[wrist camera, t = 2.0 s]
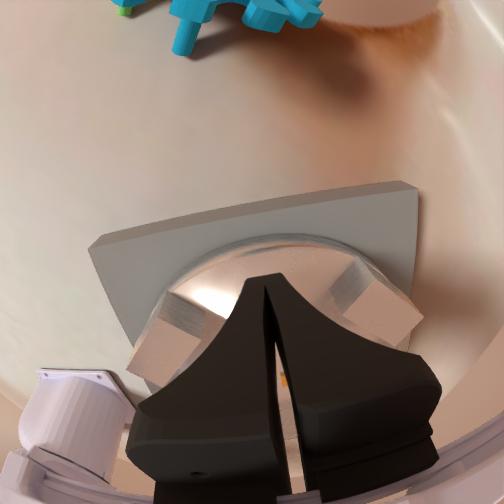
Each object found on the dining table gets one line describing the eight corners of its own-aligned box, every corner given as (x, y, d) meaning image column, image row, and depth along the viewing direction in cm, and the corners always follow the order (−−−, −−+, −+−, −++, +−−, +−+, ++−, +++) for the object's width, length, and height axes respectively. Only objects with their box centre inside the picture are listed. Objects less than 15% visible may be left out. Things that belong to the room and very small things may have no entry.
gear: (353, -3, 9) (271, 23, 5) (299, 67, 14) (202, 160, 10) (186, -72, 7) (32, -42, 3) (162, -4, 13) (34, 56, 8)
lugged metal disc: (193, 428, 21) (190, 468, 17) (106, 264, 14) (73, 308, 10) (381, 395, 20) (396, 432, 17) (406, 210, 13) (451, 240, 10)
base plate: (188, 414, 23) (186, 433, 21) (101, 235, 16) (86, 250, 14) (381, 380, 23) (389, 397, 21) (400, 180, 15) (420, 189, 13)
